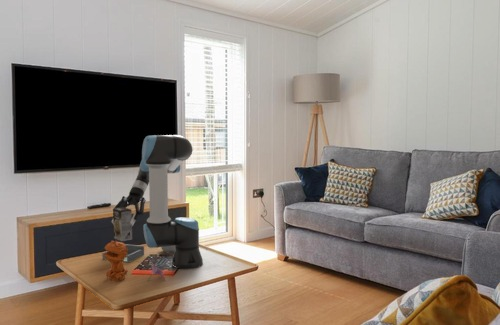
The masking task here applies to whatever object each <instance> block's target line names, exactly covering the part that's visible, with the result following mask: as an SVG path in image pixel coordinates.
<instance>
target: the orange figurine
mask: <svg viewBox="0 0 500 325" xmlns="http://www.w3.org/2000/svg"><path fill="white" fill-rule="evenodd" d="M125 244H126V243H124V242H123V241H119V240H117V239H115V241H114V240H111V242H108V243H107V244H106V245H105V246H104V249H105V252H106V251H107V253H104V252H102V253H103V254H104V257H105V259H107V260H106V261H107V262H109V263H111V266H110V269H109V270H107V271H106V272H105V274H106V278H107V279H109V280H110V281H114V282H115V281H116V282H118V281H122V280H123V279H125V276H127V275H128V270H129V269H128V268H125V266H124V262H122V261H124V258H126V257H127V255H128V248H127V247H125V246H126V245H125ZM126 248H127V249H126ZM109 251H110V252H109ZM126 251H127V252H126ZM112 252H114V253H112ZM126 254H127V255H126Z"/></svg>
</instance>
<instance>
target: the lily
mask: <svg viewBox="0 0 500 325" xmlns="http://www.w3.org/2000/svg"><path fill="white" fill-rule="evenodd" d="M148 260H149V262H150V263H151V265H150V267H151V270H152V271H151V272H152V273H151V275H150V276H149V278H148V280H147V282H149V281H150V278H151V277H152V276H153V275H158V276H160V277H162V278H163V279H164V280H165V281H167V279H166V278H165V277H164V275H165V272H164V271H163V270H162V269H160V268H161V267H159V266H158V267H157V266H156V265H155V264H154V262H152V261H151V259H150V258H148Z"/></svg>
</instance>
